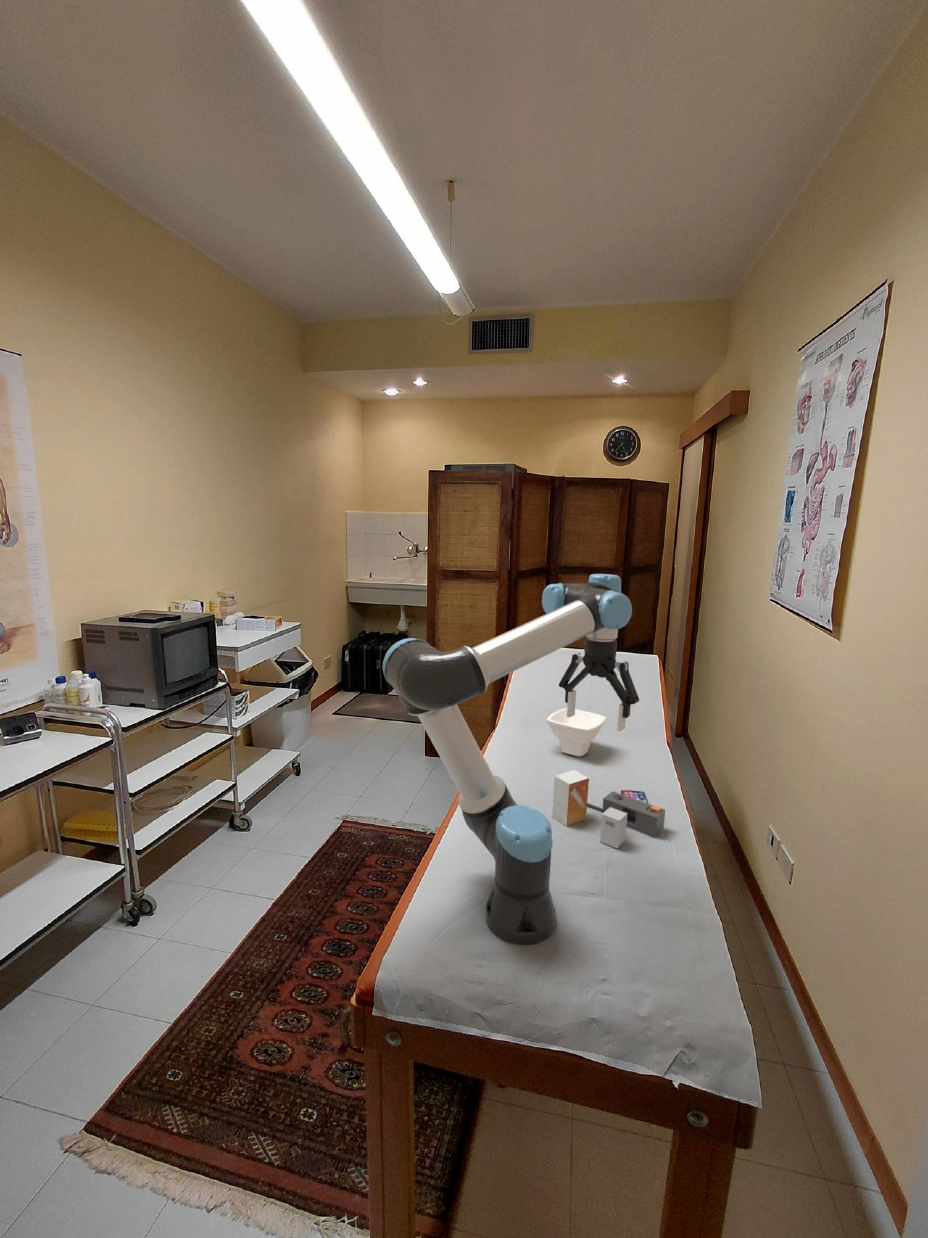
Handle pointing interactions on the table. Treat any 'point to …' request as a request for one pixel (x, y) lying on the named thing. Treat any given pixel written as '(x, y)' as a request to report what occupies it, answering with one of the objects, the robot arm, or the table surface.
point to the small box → (570, 797)
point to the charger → (613, 827)
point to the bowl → (575, 730)
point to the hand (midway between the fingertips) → (595, 722)
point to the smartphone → (635, 795)
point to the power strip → (635, 813)
